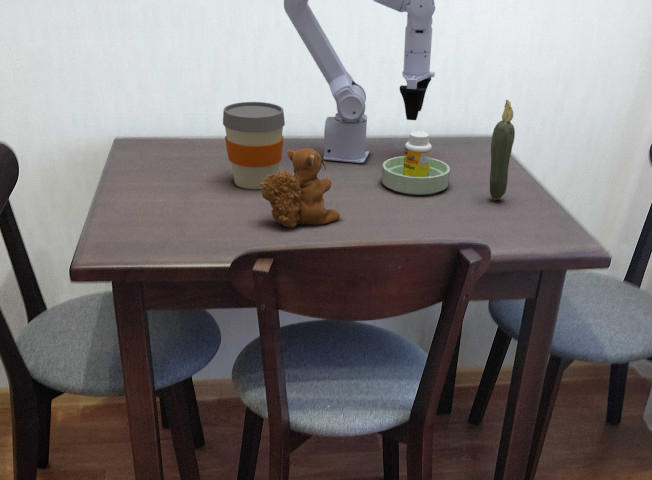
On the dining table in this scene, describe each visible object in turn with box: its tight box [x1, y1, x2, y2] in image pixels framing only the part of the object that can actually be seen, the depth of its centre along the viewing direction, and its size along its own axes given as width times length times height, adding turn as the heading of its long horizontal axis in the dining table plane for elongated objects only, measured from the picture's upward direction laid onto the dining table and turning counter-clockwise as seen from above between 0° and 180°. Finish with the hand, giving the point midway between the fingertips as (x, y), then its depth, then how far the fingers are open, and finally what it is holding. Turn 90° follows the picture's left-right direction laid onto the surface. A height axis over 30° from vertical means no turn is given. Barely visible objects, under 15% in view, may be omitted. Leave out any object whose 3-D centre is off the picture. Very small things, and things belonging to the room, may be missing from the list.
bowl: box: [381, 155, 451, 196], centre depth 164 cm, size 14×14×4 cm
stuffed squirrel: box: [259, 147, 341, 229], centre depth 143 cm, size 10×14×13 cm
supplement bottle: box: [403, 131, 433, 177], centre depth 162 cm, size 6×6×10 cm
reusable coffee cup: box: [222, 101, 286, 190], centre depth 159 cm, size 13×13×15 cm
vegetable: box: [489, 99, 516, 201], centre depth 153 cm, size 4×4×20 cm
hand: (414, 115), depth 173 cm, fingers open, 7 cm apart
